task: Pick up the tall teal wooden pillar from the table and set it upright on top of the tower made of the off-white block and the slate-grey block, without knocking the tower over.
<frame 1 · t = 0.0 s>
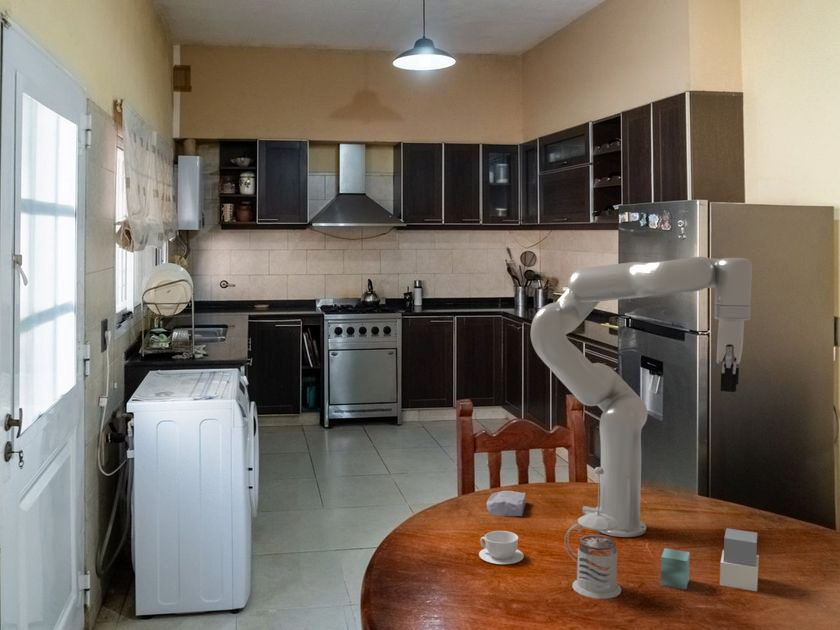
hand: (729, 387, 177), 37 cm above the table, tool pointing down, fingers open, 9 cm apart
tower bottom: (739, 582, 160), on the table, touching tower top
teacup: (501, 557, 173), on the table
teal pillar: (674, 582, 160), on the table
tower top: (740, 558, 160), point 5 cm above the table, touching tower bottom
french press: (592, 587, 158), on the table
stone block: (505, 510, 204), on the table
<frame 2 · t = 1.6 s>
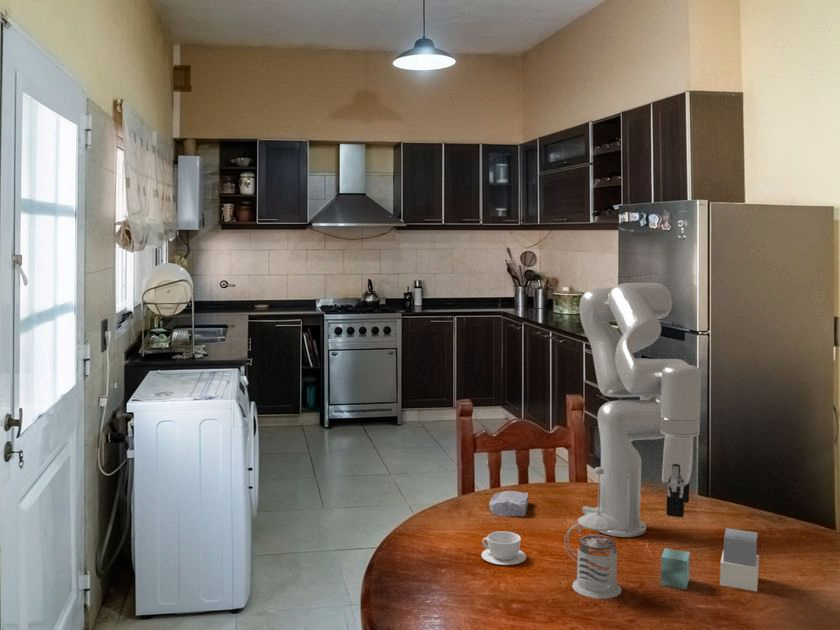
hand: (677, 508, 158), 16 cm above the table, tool pointing down, fingers open, 9 cm apart
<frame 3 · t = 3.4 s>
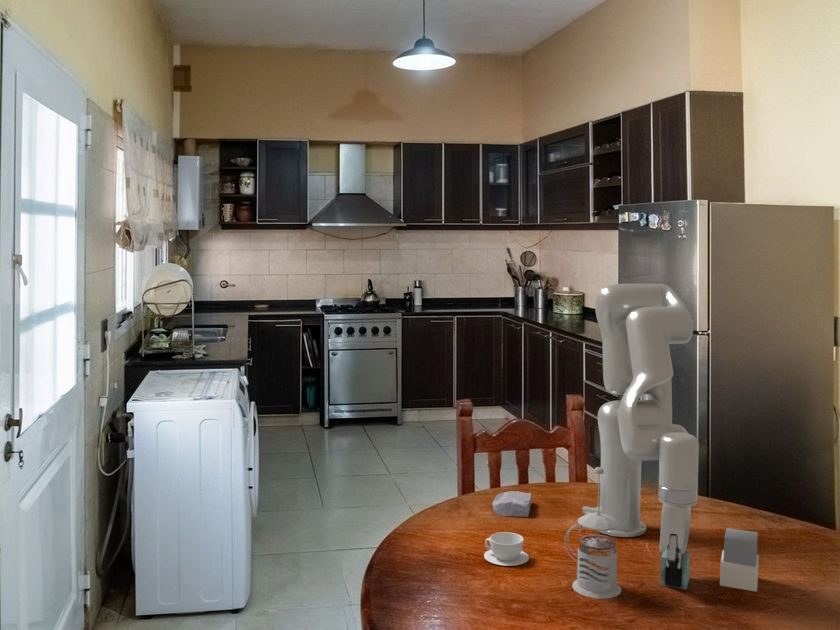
hand: (675, 579, 160), 1 cm above the table, tool pointing down, fingers closed on teal pillar, 4 cm apart
teal pillar: (674, 582, 160), on the table, touching gripper
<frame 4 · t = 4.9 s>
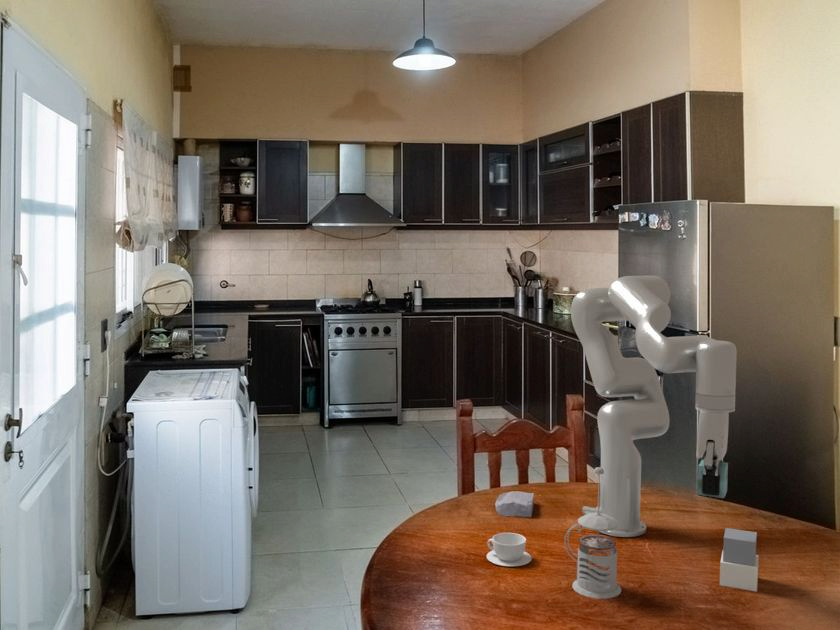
hand: (712, 489, 158), 20 cm above the table, tool pointing down, fingers closed on teal pillar, 4 cm apart
teal pillar: (712, 493, 158), point 19 cm above the table, touching gripper
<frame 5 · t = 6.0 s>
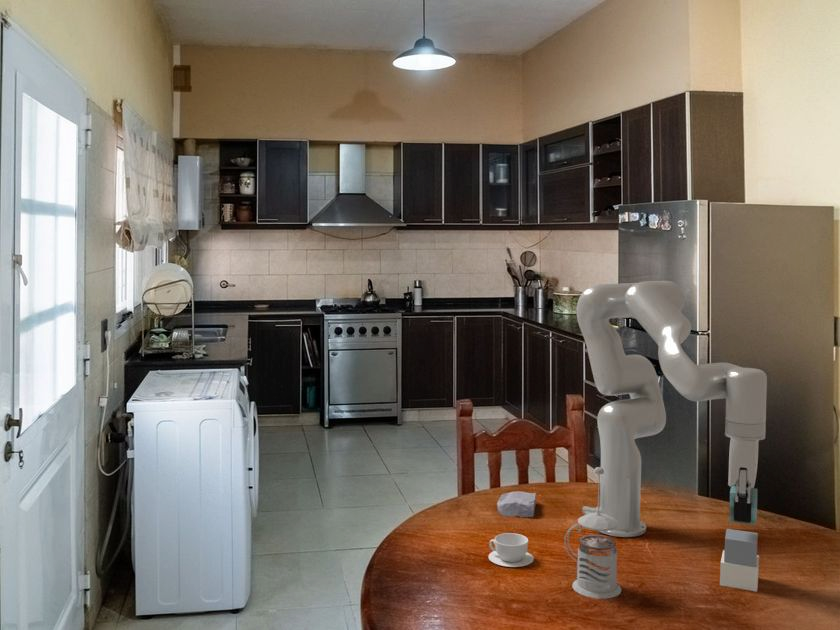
hand: (742, 516, 159), 14 cm above the table, tool pointing down, fingers closed on teal pillar, 4 cm apart
teal pillar: (743, 519, 159), point 13 cm above the table, touching gripper
when the fingers open (12 cm above the table, at t = 6.7 s): teal pillar drops 1 cm, resting on tower top.
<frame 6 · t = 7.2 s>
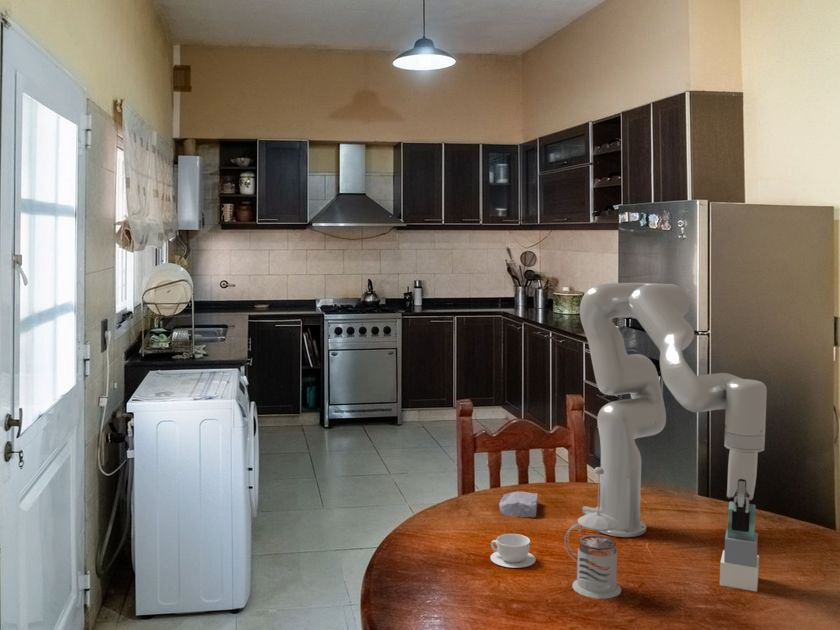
hand: (741, 522, 159), 12 cm above the table, tool pointing down, fingers open, 9 cm apart
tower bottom: (739, 582, 160), on the table
teal pillar: (740, 535, 159), point 10 cm above the table, touching tower top
tower top: (740, 559, 160), point 5 cm above the table, touching teal pillar
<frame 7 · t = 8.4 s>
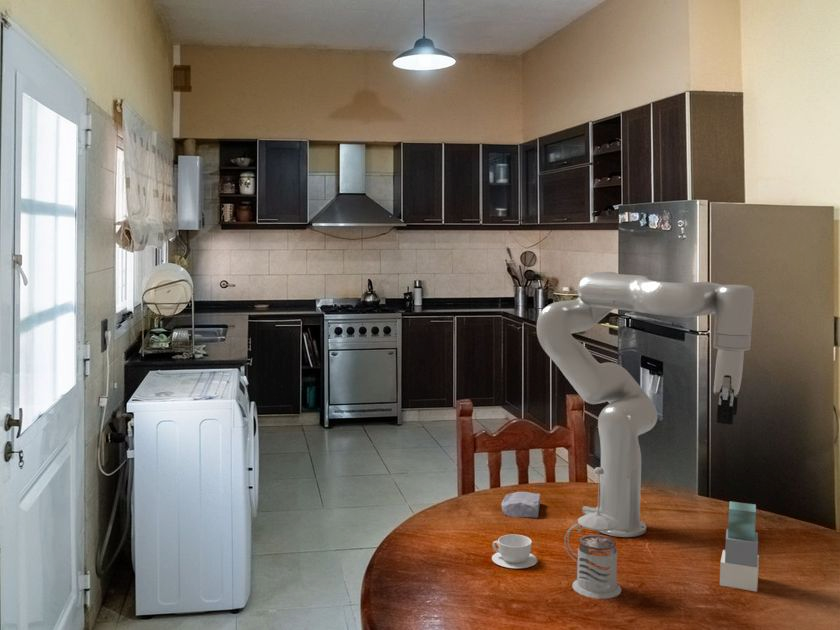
hand: (726, 418, 171), 31 cm above the table, tool pointing down, fingers open, 9 cm apart
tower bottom: (739, 582, 160), on the table, touching tower top
tower top: (740, 559, 159), point 5 cm above the table, touching teal pillar, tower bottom
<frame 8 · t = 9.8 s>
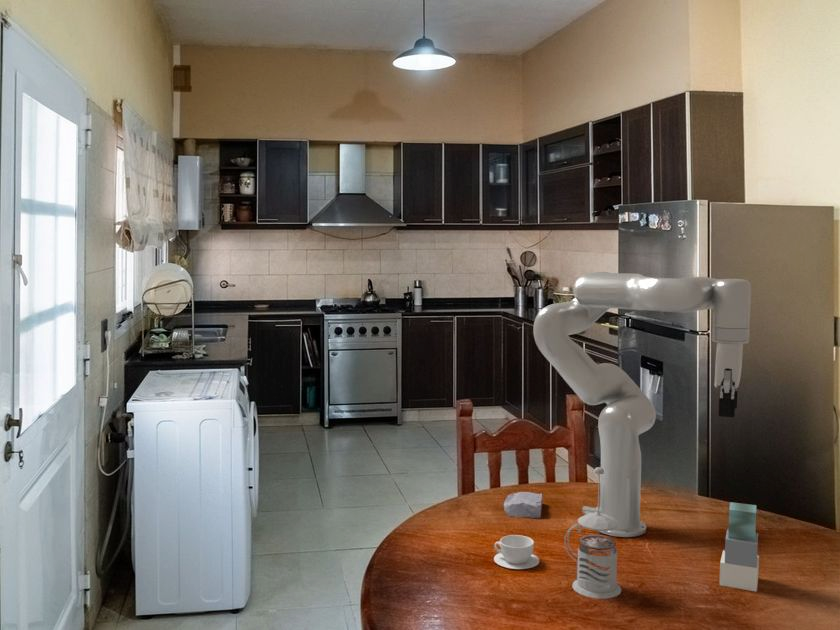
hand: (727, 412, 172), 32 cm above the table, tool pointing down, fingers open, 9 cm apart
at the end: teal pillar 0.3 cm off-centre on the tower top, point 5.0 cm above the tower top's base; teal pillar tilted 0°; tower top point 4.8 cm above the table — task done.
